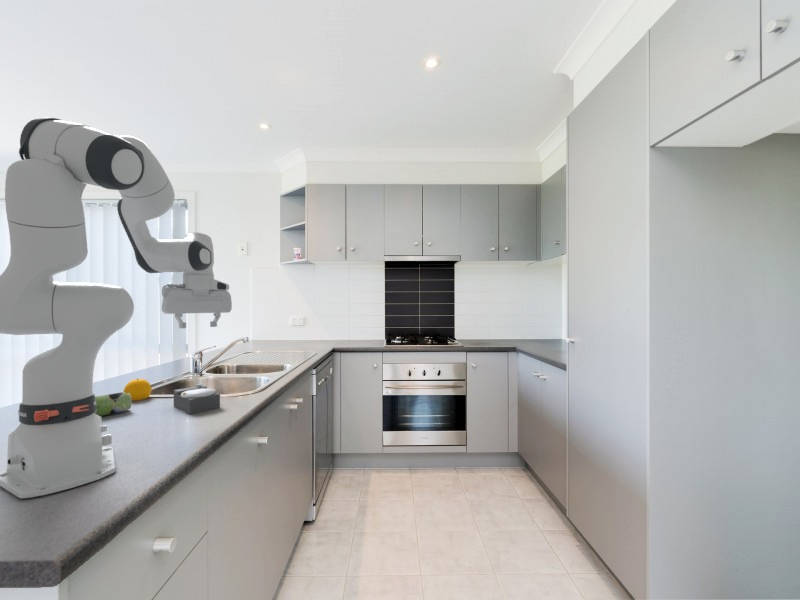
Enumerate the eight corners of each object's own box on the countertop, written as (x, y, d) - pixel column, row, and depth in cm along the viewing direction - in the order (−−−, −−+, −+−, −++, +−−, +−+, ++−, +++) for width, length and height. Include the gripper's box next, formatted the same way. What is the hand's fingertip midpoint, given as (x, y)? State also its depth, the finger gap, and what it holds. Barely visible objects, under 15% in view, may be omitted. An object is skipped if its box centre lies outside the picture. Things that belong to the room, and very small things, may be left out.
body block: (220, 407, 120) (220, 388, 120) (188, 414, 112) (188, 393, 112) (203, 401, 128) (203, 382, 128) (172, 407, 121) (172, 387, 121)
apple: (121, 404, 124) (122, 382, 124) (125, 399, 131) (125, 378, 131) (150, 401, 128) (150, 379, 129) (152, 396, 135) (152, 375, 135)
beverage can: (77, 421, 108) (124, 414, 119) (88, 416, 105) (135, 409, 115) (76, 400, 110) (122, 394, 120) (87, 394, 107) (133, 389, 117)
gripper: (166, 282, 110) (165, 329, 109) (234, 285, 125) (234, 326, 125) (158, 283, 114) (158, 328, 113) (225, 286, 129) (225, 325, 129)
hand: (198, 327), depth 119 cm, fingers open, 8 cm apart
